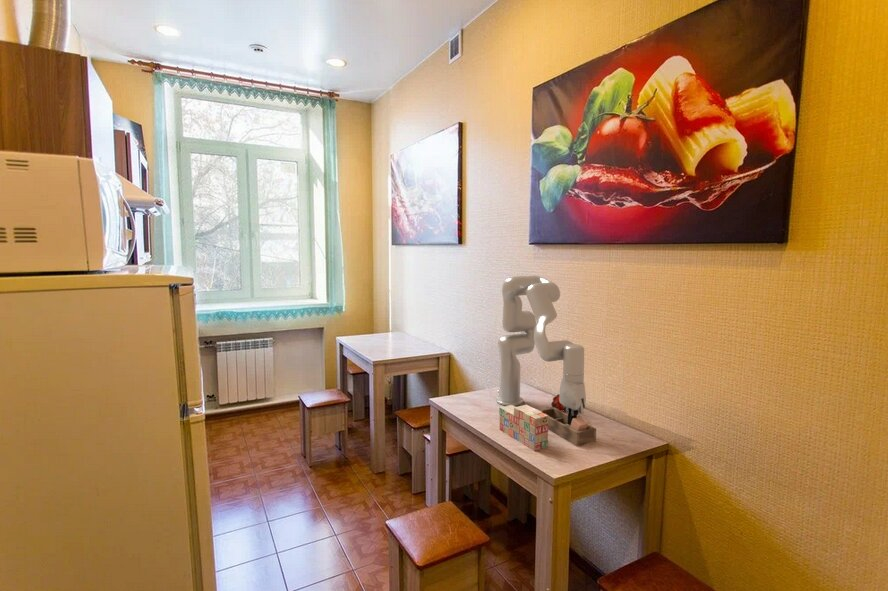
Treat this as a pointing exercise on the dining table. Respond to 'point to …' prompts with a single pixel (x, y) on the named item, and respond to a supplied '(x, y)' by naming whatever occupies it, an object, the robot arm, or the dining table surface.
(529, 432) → the stack of blocks
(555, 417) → the box
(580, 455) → the dining table surface
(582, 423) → the terracotta block
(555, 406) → the dragon fruit
